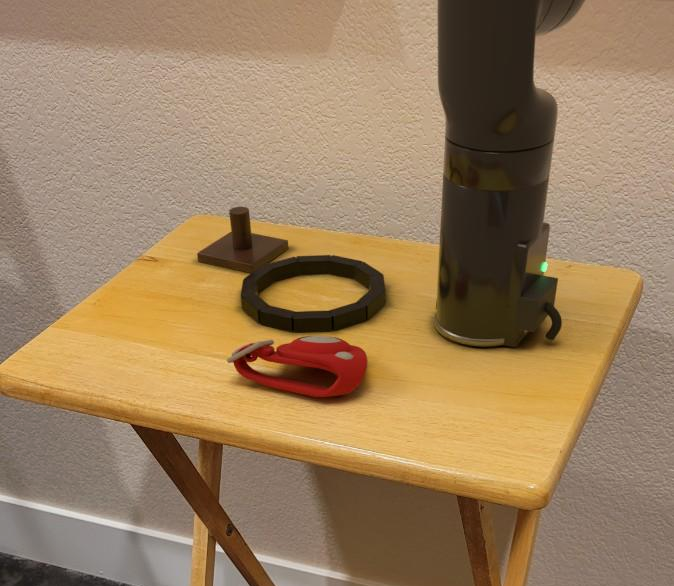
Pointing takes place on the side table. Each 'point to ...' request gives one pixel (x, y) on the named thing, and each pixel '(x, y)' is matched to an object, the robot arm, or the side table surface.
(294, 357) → the tracker holder
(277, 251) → the ring holder
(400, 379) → the side table surface
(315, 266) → the ring
